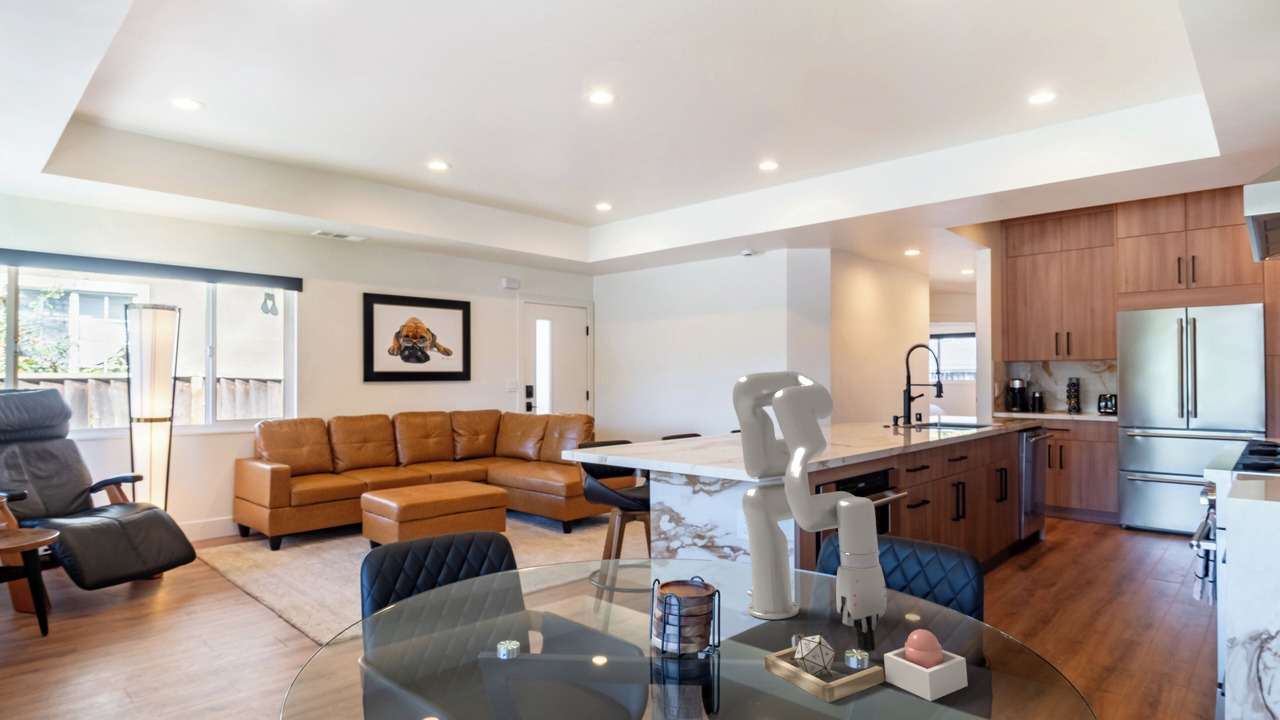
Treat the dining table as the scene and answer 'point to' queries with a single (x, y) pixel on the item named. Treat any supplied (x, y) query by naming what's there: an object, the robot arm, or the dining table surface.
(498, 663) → the dining table surface
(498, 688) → the dining table surface
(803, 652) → the game die
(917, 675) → the white open box
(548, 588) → the dining table surface
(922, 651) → the dome
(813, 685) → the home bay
